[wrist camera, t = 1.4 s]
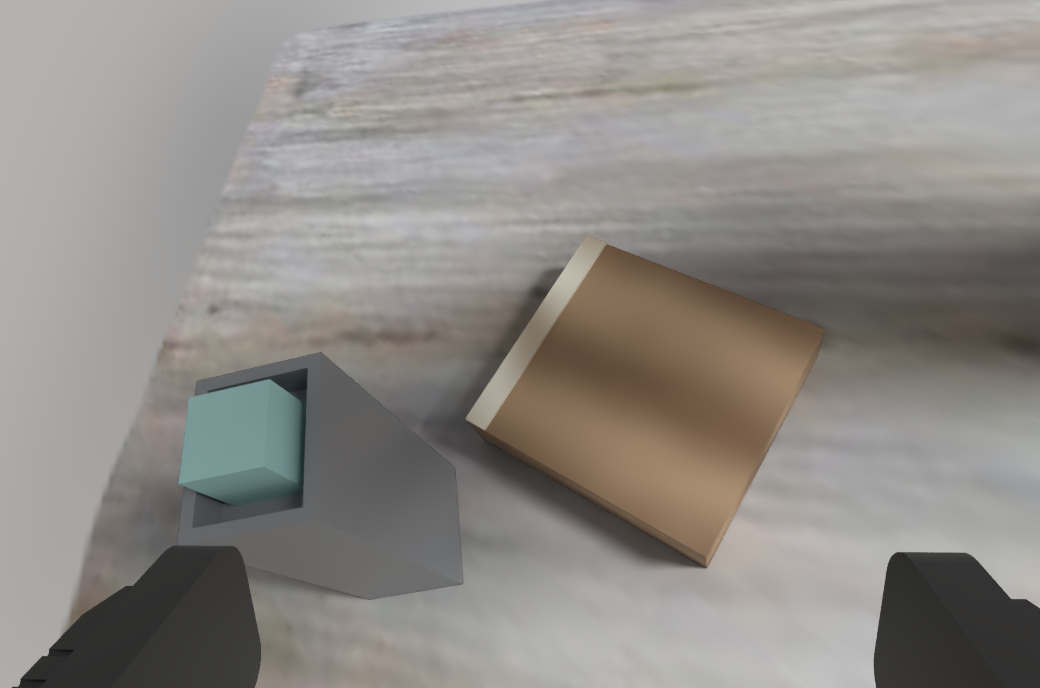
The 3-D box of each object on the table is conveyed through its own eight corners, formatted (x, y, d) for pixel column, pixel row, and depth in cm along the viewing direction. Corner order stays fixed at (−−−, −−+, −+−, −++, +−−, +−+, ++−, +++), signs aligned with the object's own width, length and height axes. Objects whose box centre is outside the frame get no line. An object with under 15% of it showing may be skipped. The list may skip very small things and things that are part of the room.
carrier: (463, 584, 34) (316, 520, 22) (369, 599, 35) (176, 546, 23) (455, 468, 37) (321, 352, 25) (368, 484, 38) (196, 381, 26)
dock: (596, 266, 41) (586, 234, 38) (817, 356, 35) (825, 326, 32) (483, 439, 38) (464, 418, 35) (706, 568, 32) (705, 556, 29)
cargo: (313, 491, 24) (263, 466, 21) (235, 506, 25) (178, 484, 22) (315, 411, 25) (269, 379, 23) (241, 427, 26) (189, 397, 23)
